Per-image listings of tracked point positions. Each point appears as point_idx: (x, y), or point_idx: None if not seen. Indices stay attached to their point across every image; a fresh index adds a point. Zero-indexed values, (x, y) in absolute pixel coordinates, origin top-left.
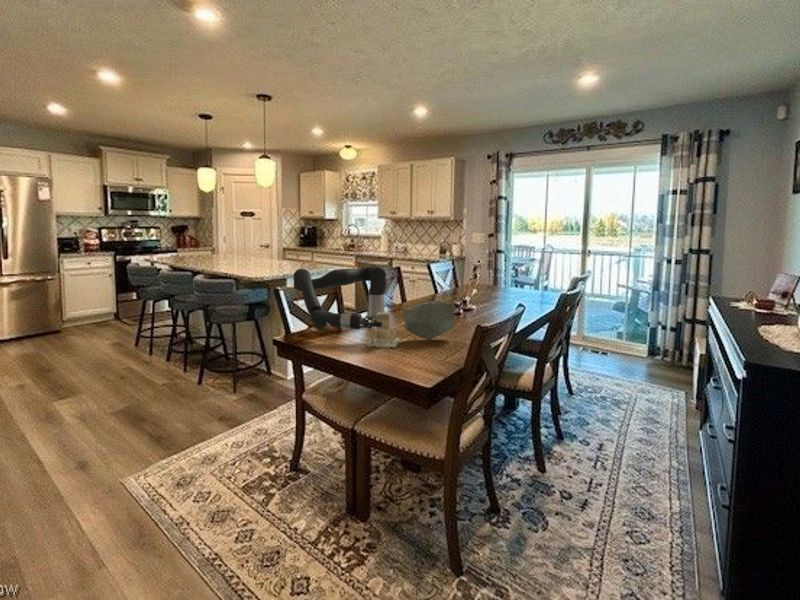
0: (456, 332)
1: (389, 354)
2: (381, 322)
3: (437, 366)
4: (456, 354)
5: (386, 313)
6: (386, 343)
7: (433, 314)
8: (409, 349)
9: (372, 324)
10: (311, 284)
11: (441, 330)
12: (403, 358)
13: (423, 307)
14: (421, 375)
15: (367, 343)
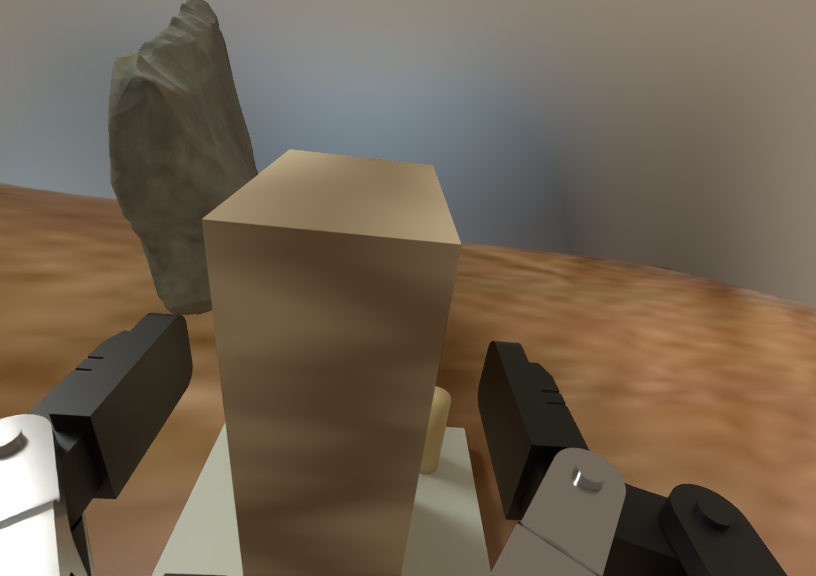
0: (108, 217)
1: (655, 471)
2: (496, 341)
3: (651, 292)
4: (469, 248)
5: (370, 169)
6: (428, 509)
7: (237, 112)
8: (466, 366)
9: (625, 503)
10: None
11: None
12: (662, 388)
13: (219, 56)
14: (801, 330)
15: None
